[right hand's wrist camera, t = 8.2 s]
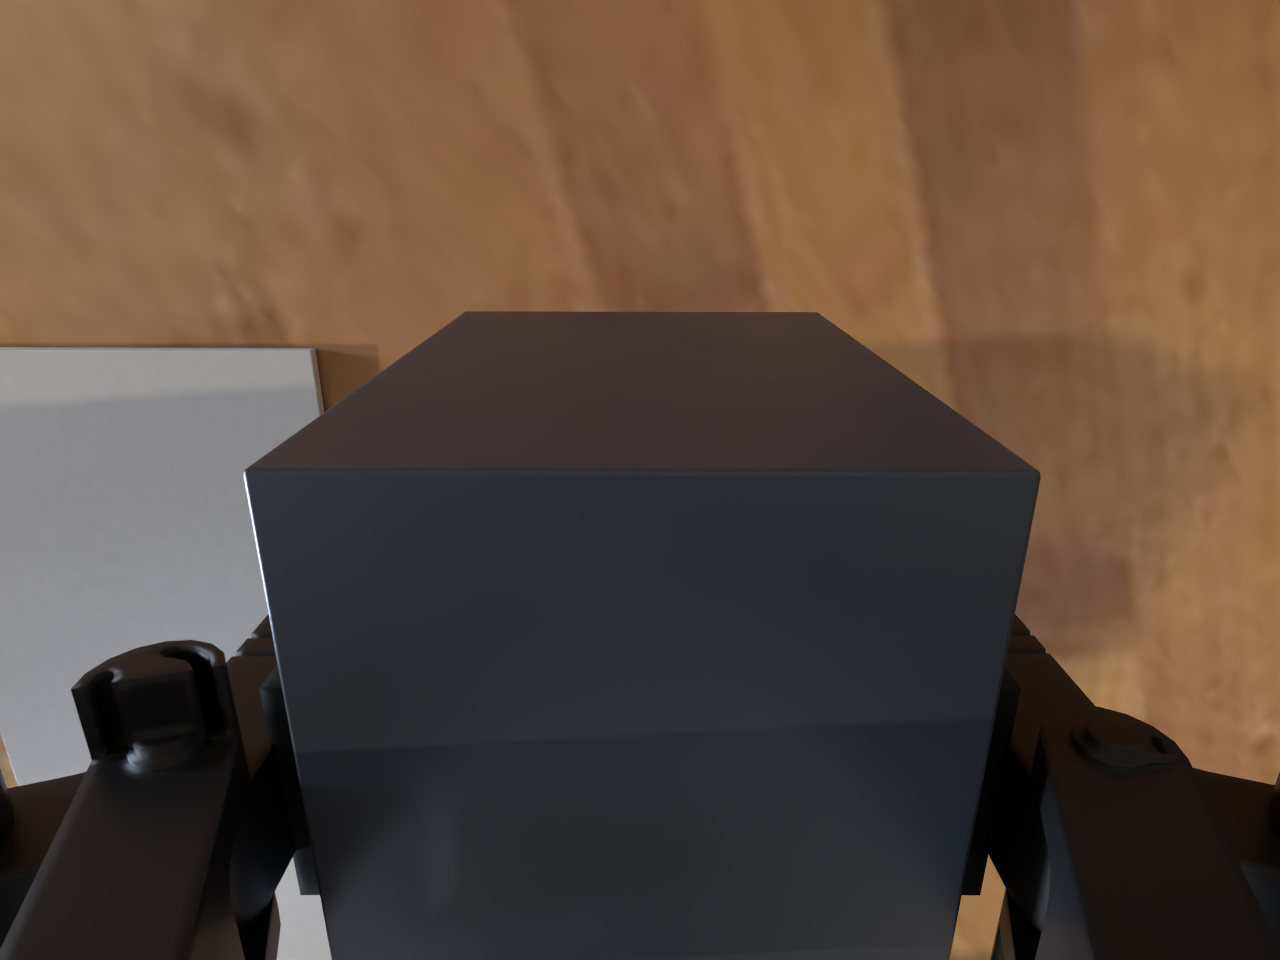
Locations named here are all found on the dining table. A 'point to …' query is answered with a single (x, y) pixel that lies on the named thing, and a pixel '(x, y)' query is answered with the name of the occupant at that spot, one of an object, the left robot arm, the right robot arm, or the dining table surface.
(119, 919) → the right robot arm
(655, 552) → the beam
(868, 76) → the dining table surface
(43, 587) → the mat
